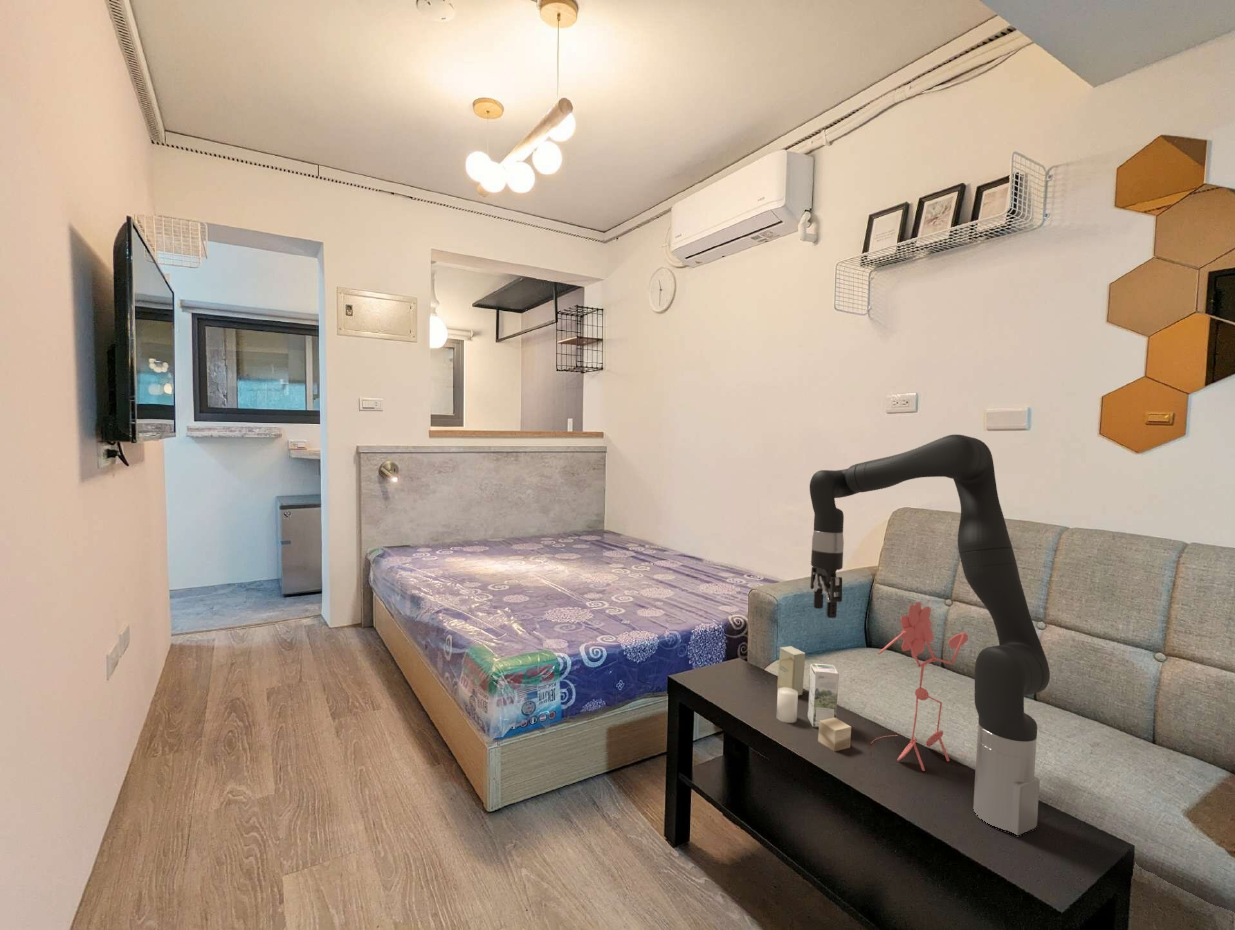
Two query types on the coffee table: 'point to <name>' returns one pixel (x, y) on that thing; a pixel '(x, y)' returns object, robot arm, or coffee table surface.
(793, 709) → the ceramic cylinder
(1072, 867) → the coffee table surface
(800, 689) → the skincare box
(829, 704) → the syrup box
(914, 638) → the pink stick figure
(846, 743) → the birch block
